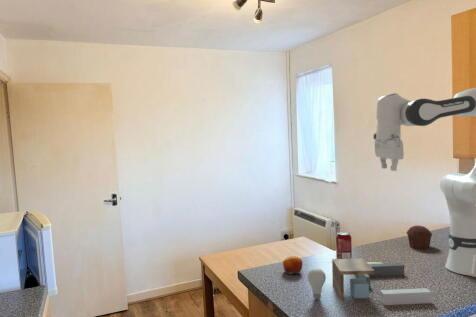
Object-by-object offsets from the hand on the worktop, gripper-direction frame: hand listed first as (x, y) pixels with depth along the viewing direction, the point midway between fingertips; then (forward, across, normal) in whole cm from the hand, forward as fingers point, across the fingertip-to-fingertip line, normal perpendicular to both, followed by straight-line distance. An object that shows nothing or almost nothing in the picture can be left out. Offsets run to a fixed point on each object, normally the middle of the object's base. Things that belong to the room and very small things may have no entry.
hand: (388, 169), depth 144 cm
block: (+42, -21, +19) cm, 50 cm away
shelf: (+42, -19, +20) cm, 50 cm away
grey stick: (+42, -27, +5) cm, 50 cm away
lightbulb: (+42, -24, +34) cm, 59 cm away
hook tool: (+42, -7, +5) cm, 43 cm away
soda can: (+42, +16, +14) cm, 47 cm away
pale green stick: (+42, +7, +7) cm, 44 cm away
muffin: (+42, +32, -27) cm, 59 cm away
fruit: (+42, +1, +39) cm, 58 cm away
